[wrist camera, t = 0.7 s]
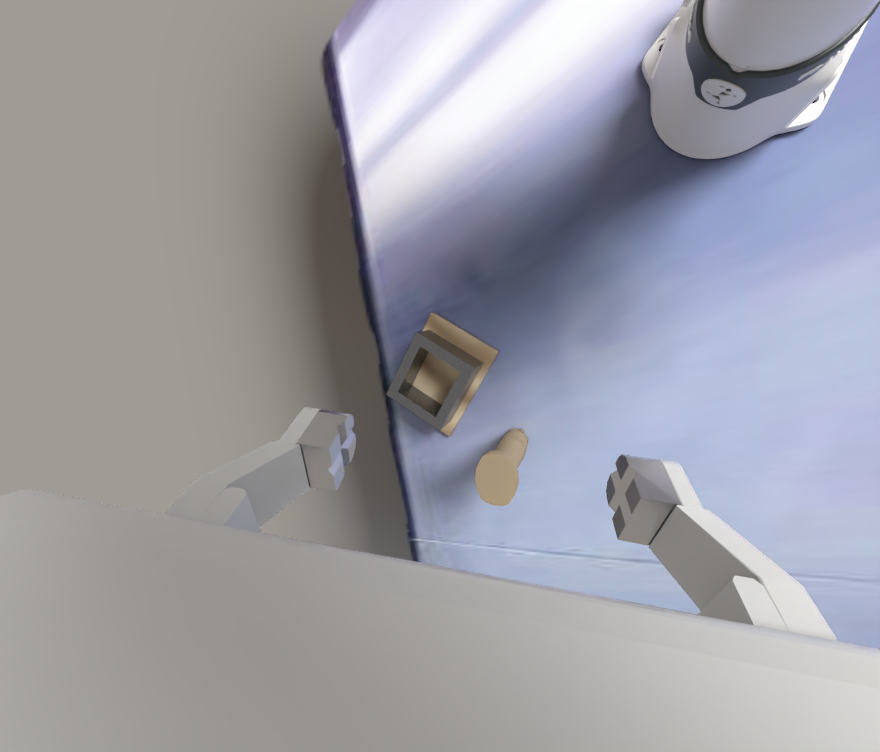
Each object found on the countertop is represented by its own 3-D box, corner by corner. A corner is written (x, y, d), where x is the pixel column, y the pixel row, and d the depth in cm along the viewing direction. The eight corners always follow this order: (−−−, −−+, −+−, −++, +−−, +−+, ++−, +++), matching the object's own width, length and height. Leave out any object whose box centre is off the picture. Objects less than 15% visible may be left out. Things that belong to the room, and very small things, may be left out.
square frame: (429, 329, 57) (416, 332, 53) (484, 362, 55) (474, 368, 50) (401, 387, 61) (386, 394, 56) (451, 421, 59) (439, 430, 54)
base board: (433, 312, 57) (431, 312, 56) (499, 351, 55) (498, 352, 54) (393, 395, 63) (390, 396, 62) (451, 434, 60) (449, 436, 59)
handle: (501, 454, 58) (474, 501, 44) (502, 415, 56) (476, 450, 43) (532, 459, 56) (515, 509, 42) (535, 418, 55) (518, 457, 41)
